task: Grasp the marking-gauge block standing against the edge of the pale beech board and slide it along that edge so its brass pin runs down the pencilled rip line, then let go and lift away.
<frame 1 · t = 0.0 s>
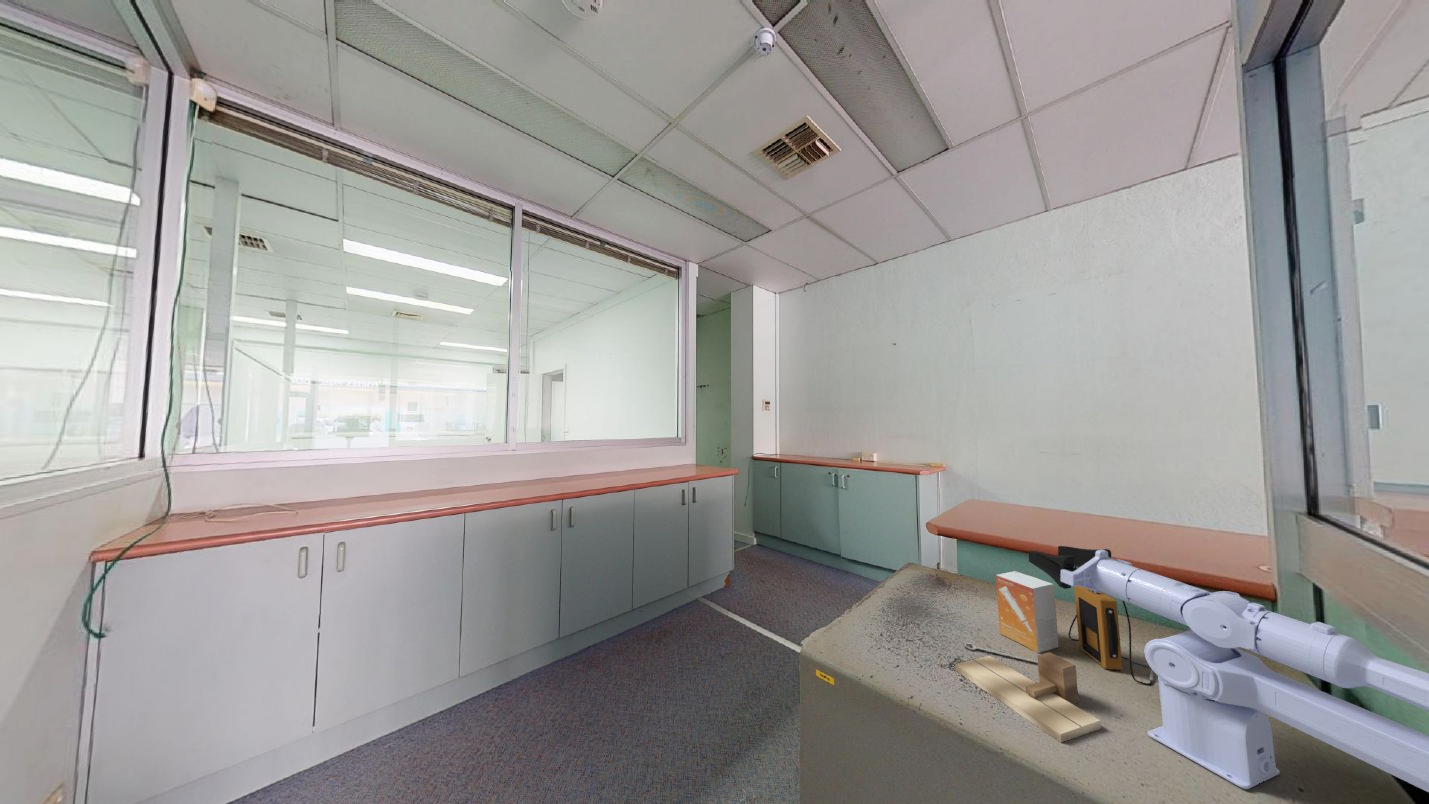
hand: (1044, 553, 76), 22 cm above the worktop, tool horizontal, fingers open, 7 cm apart
gauge: (1058, 696, 68), on the worktop
small box: (1028, 641, 85), on the worktop
multimeter: (1121, 662, 76), on the worktop
board: (1020, 696, 68), on the worktop
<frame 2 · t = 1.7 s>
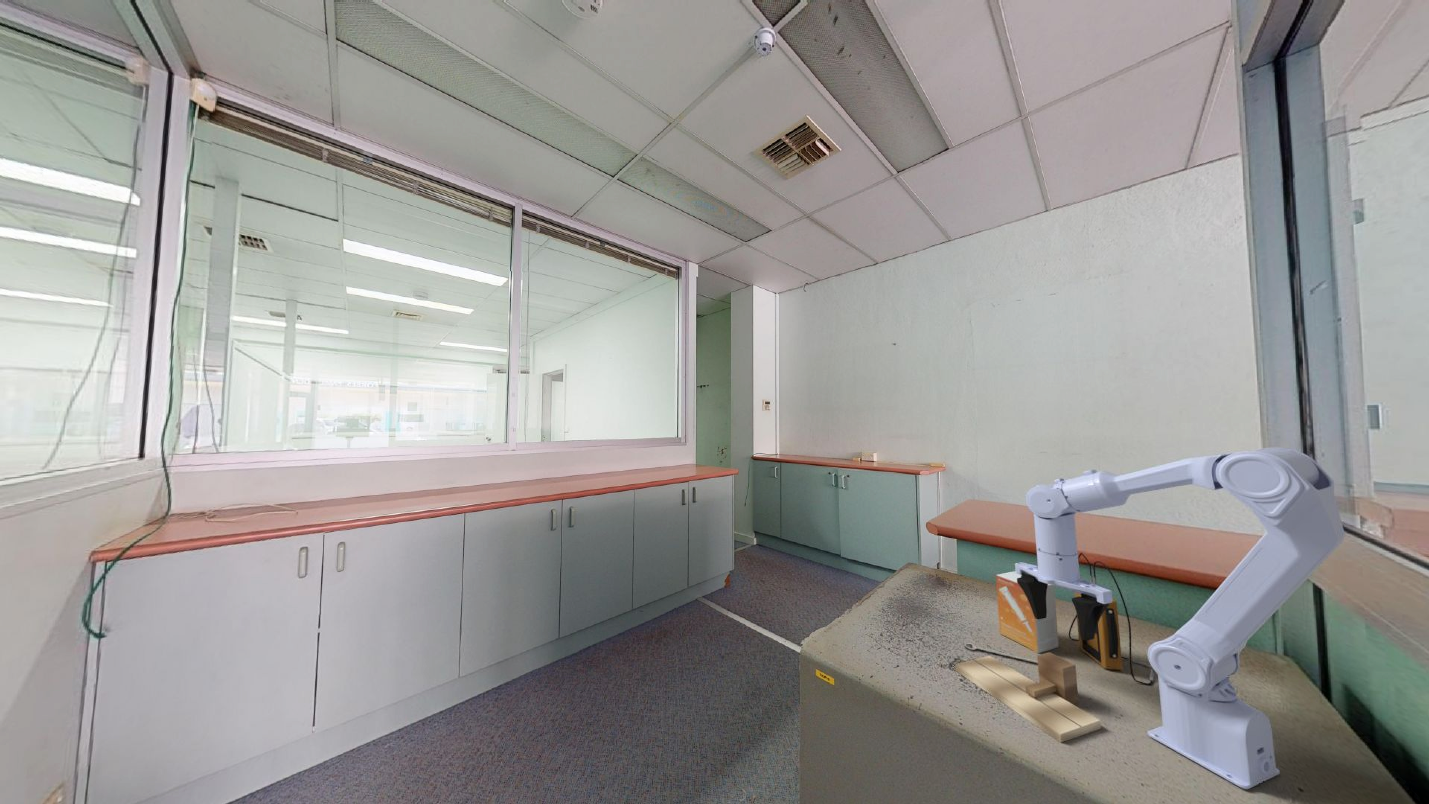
hand: (1062, 627, 71), 10 cm above the worktop, tool pointing down, fingers open, 7 cm apart
nothing on the worktop moved.
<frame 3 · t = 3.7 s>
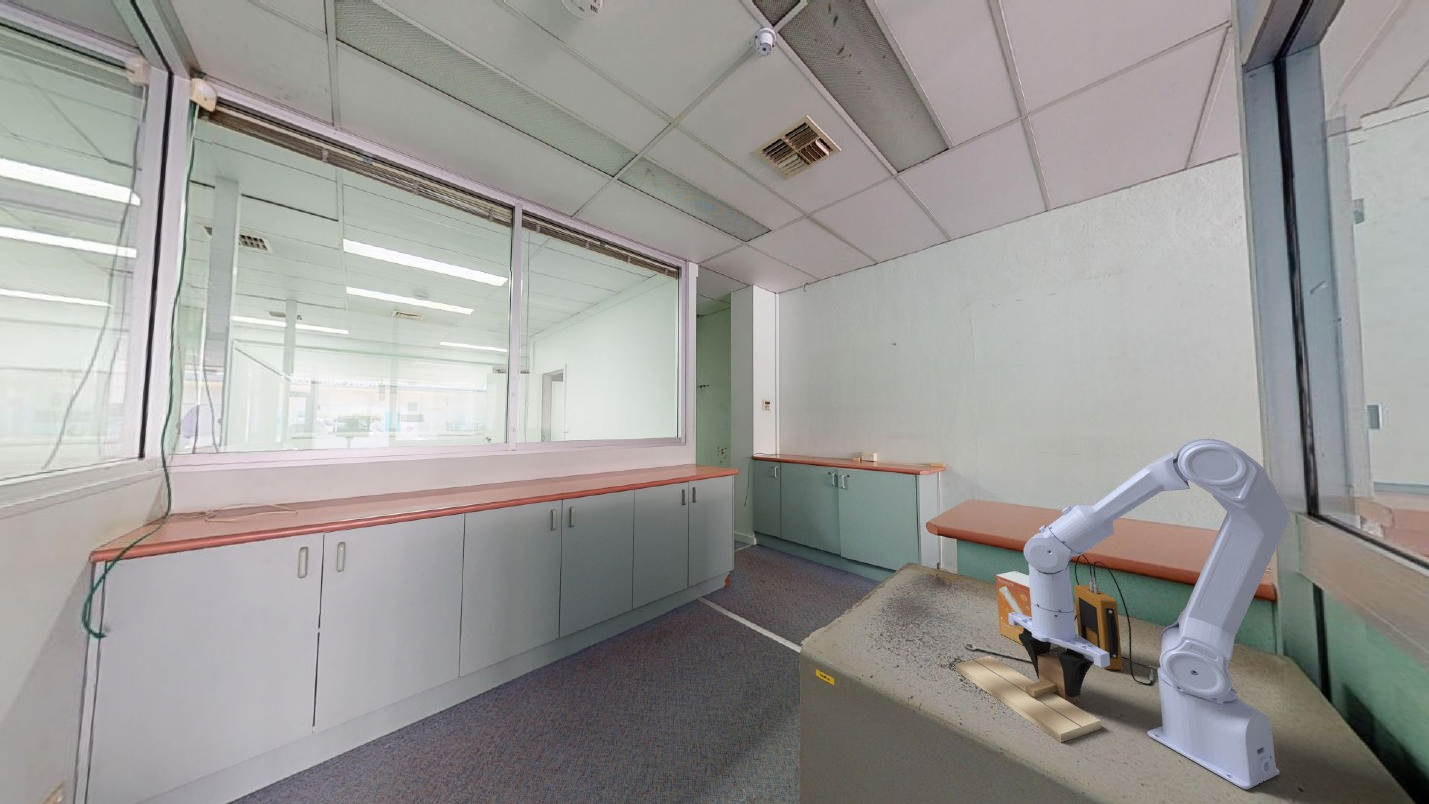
hand: (1058, 686, 68), 2 cm above the worktop, tool pointing down, fingers closed on gauge, 4 cm apart
gauge: (1058, 696, 68), on the worktop, touching gripper
everything else where it was.
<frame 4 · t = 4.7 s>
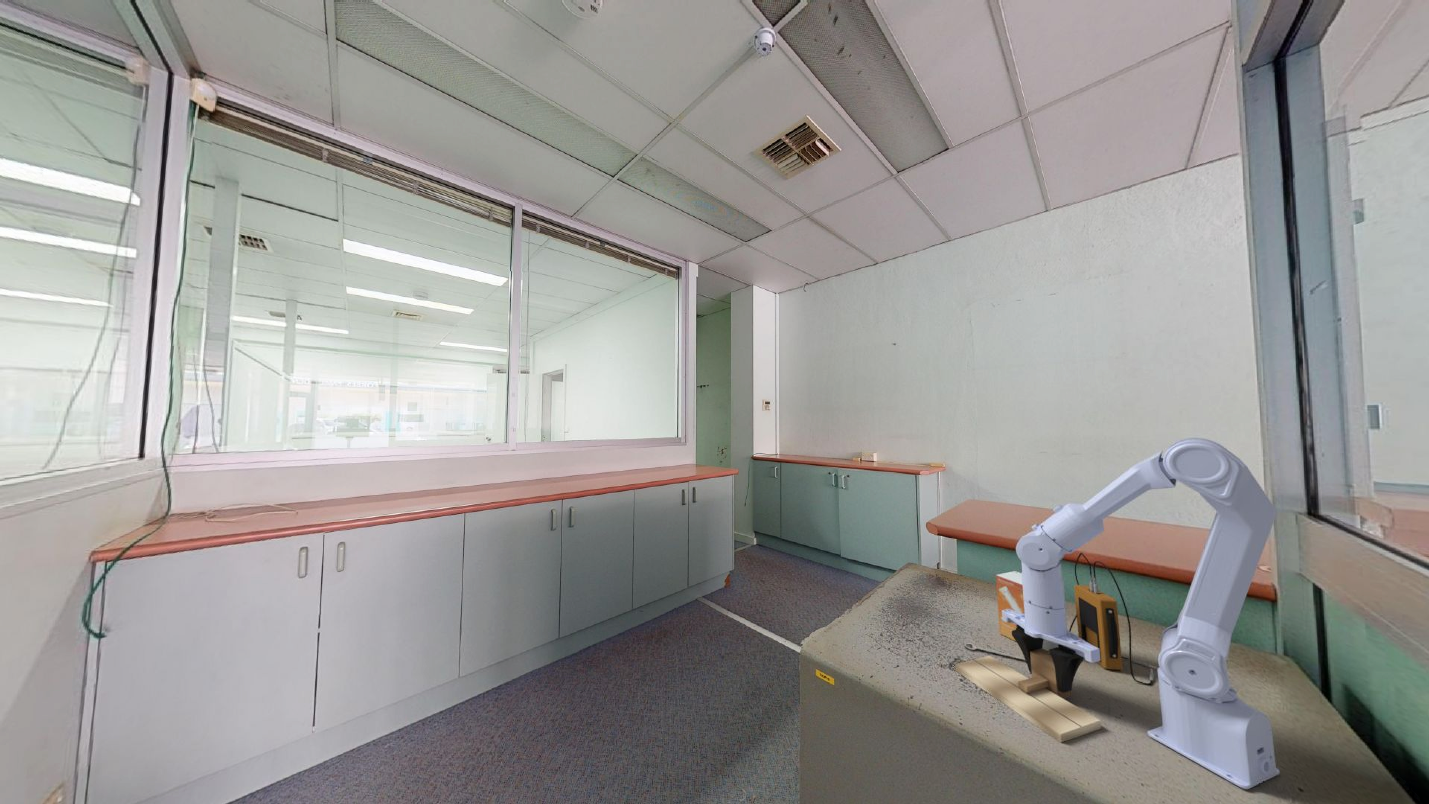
hand: (1050, 681, 69), 2 cm above the worktop, tool pointing down, fingers closed on gauge, 4 cm apart
gauge: (1051, 691, 69), on the worktop, touching gripper
everything else where it was.
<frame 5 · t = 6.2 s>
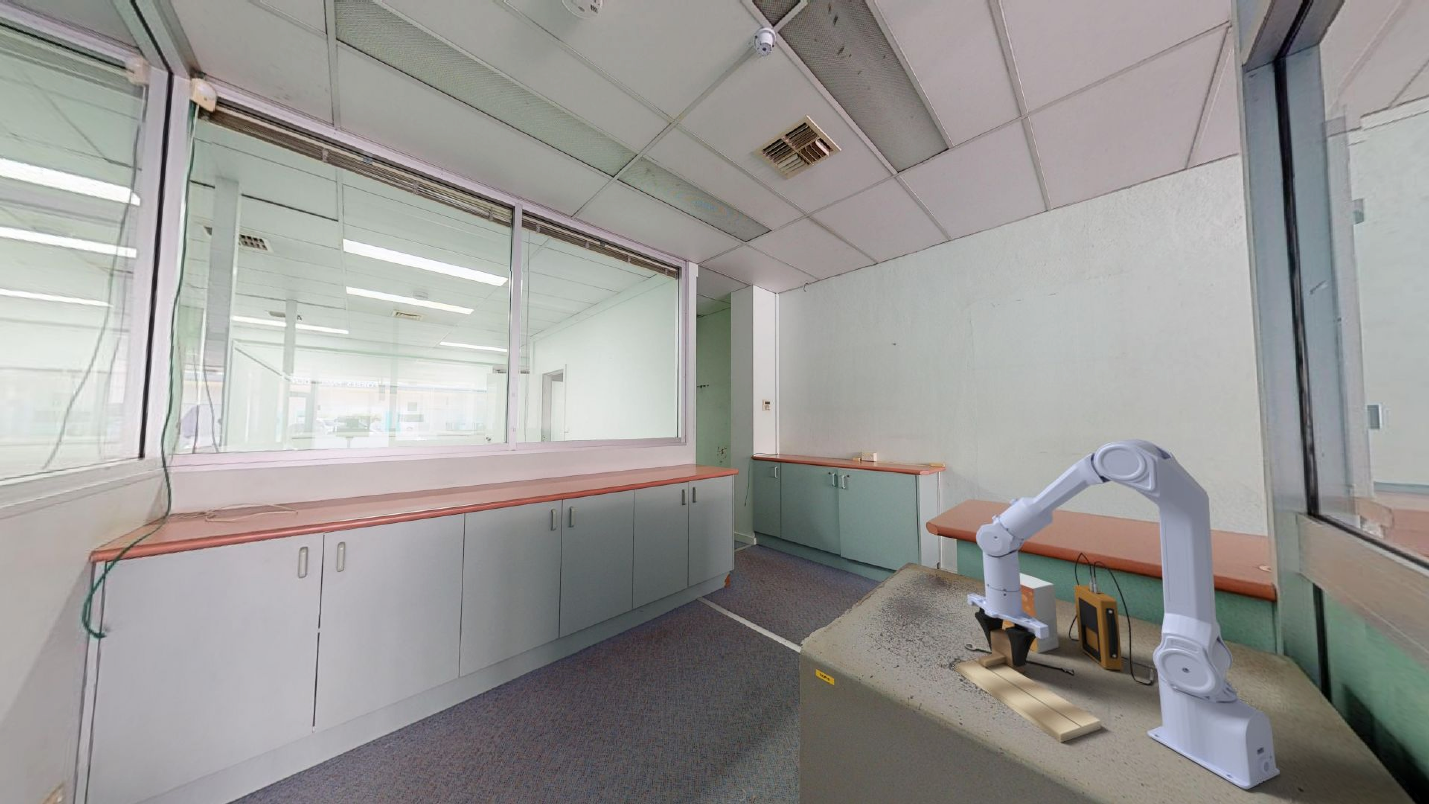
hand: (1007, 657, 76), 2 cm above the worktop, tool pointing down, fingers closed on gauge, 4 cm apart
gauge: (1008, 666, 76), on the worktop, touching gripper
everything else where it was.
when the fingers open (2 cm above the worktop, at t = 7.6 s): gauge stays where it is, on the worktop.
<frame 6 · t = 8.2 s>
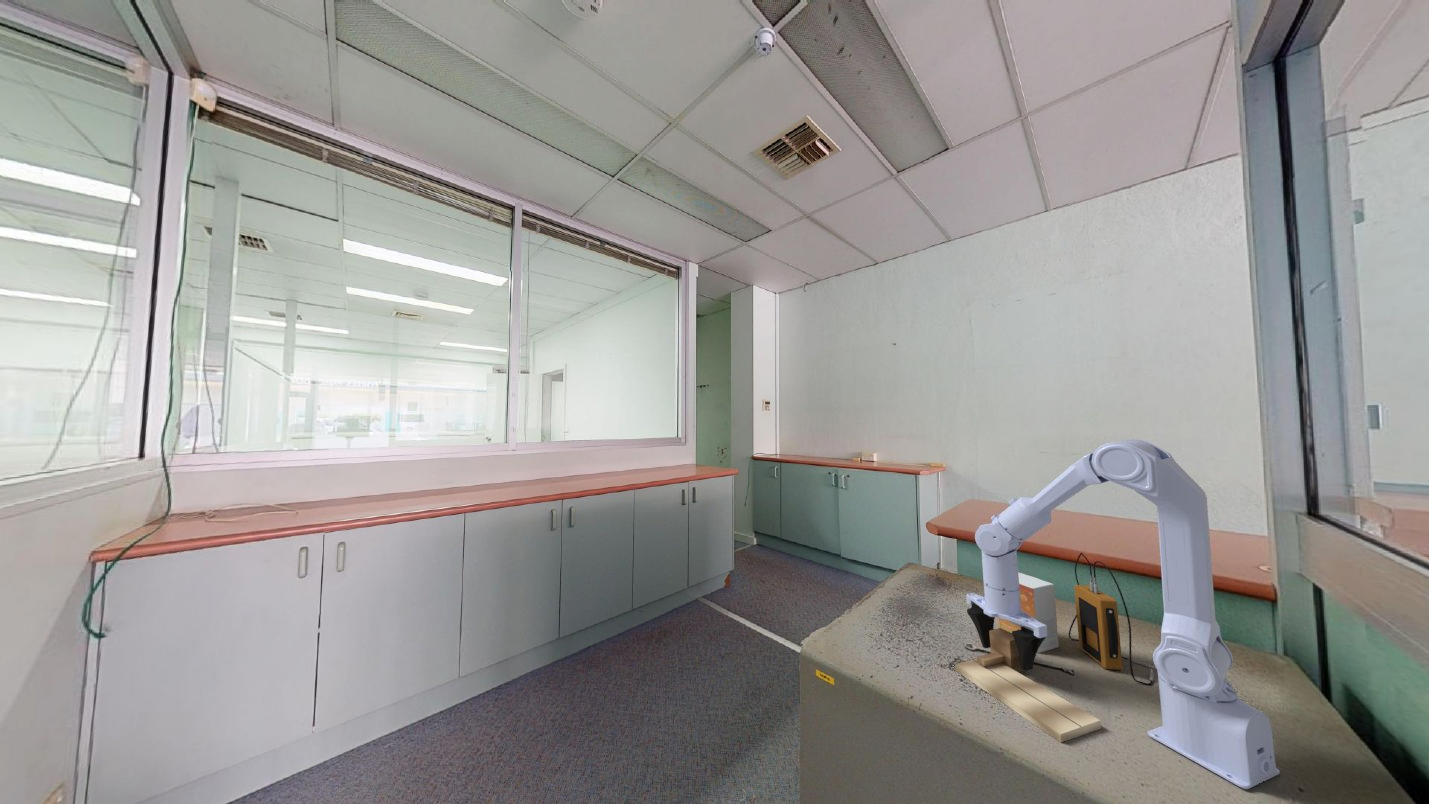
hand: (1006, 657, 76), 2 cm above the worktop, tool pointing down, fingers open, 7 cm apart
gauge: (1007, 666, 76), on the worktop
everything else where it was.
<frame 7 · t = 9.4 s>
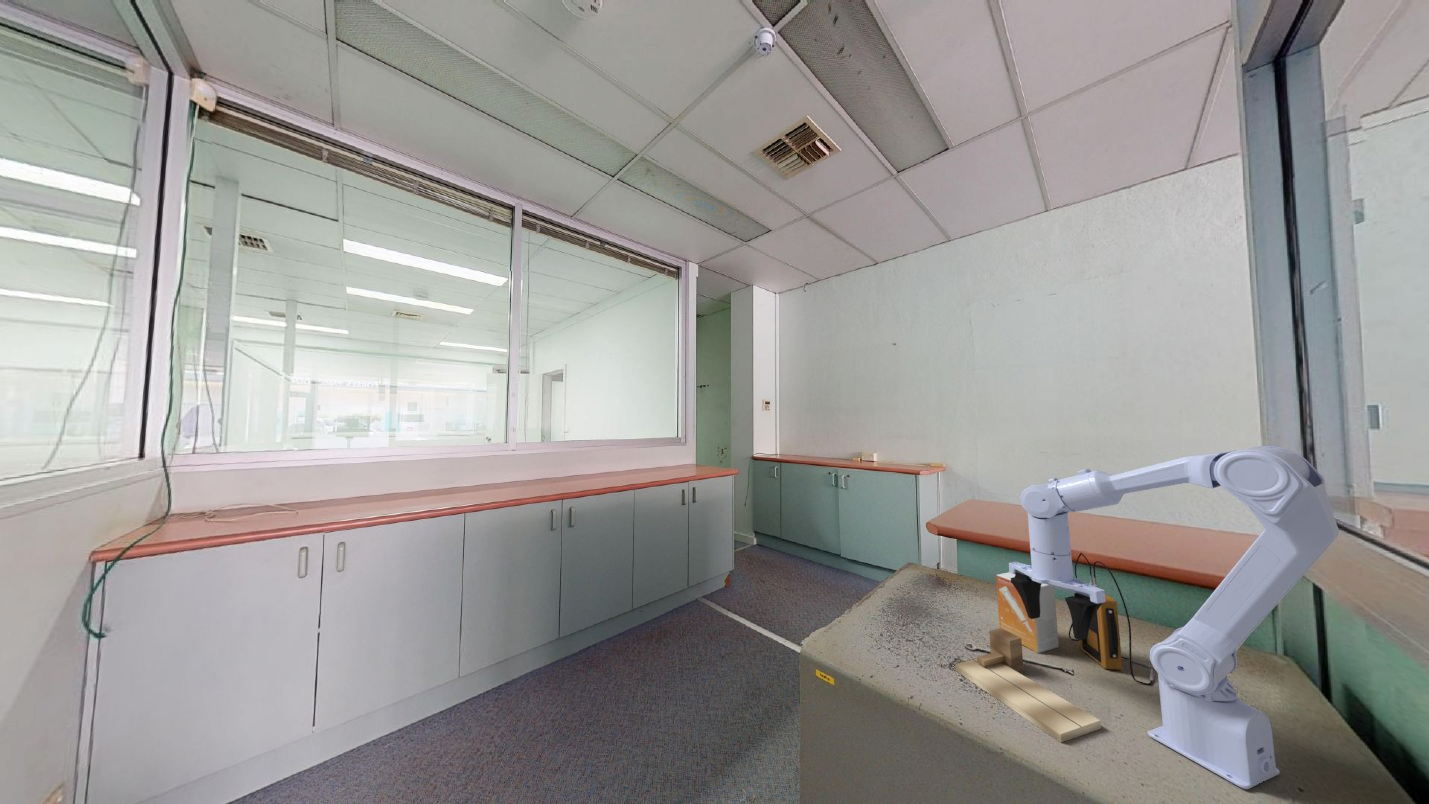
hand: (1056, 627, 71), 10 cm above the worktop, tool pointing down, fingers open, 7 cm apart
nothing on the worktop moved.
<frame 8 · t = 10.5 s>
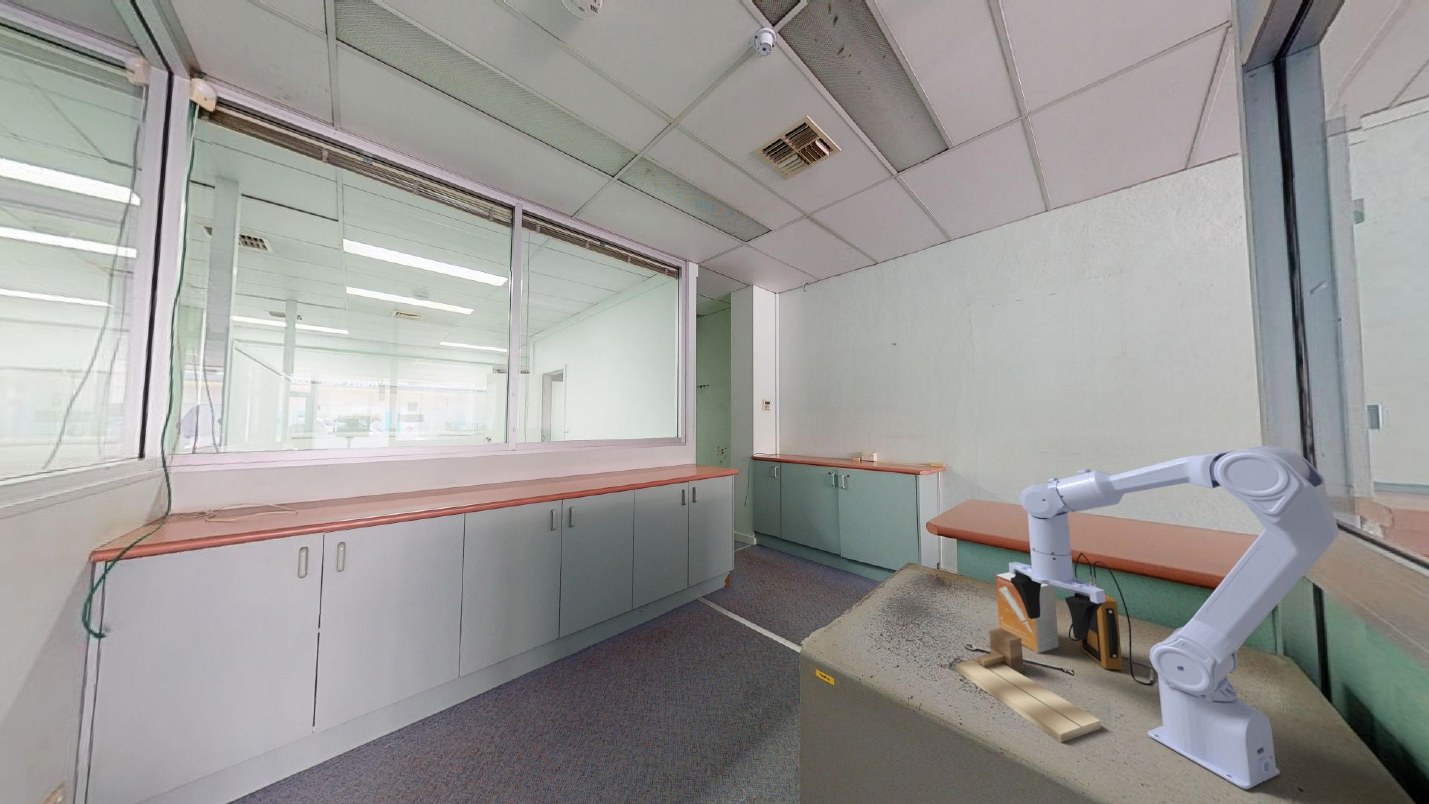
hand: (1056, 627, 71), 10 cm above the worktop, tool pointing down, fingers open, 7 cm apart
nothing on the worktop moved.
at the end: gauge 0.3 cm from the target spot, on the worktop; gauge tilted 0°; the gripper is holding nothing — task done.
